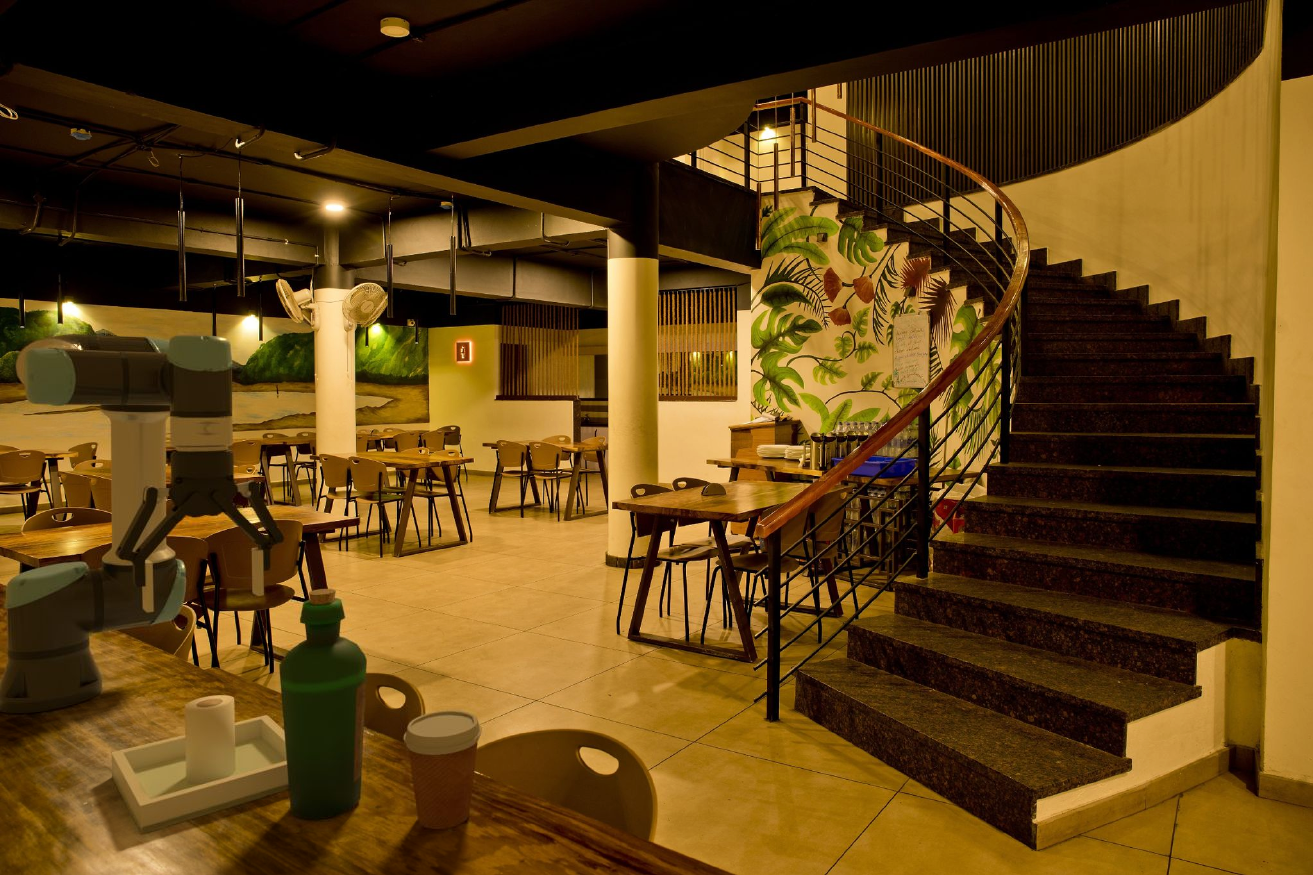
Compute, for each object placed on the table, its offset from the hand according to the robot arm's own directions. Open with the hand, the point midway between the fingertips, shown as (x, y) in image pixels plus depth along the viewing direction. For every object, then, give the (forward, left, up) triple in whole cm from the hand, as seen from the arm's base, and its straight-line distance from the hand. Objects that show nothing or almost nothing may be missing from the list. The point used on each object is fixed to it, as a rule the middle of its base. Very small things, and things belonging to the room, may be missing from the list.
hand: (205, 602), depth 111 cm
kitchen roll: (+1, 0, -24) cm, 24 cm away
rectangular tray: (+1, 0, -25) cm, 25 cm away
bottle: (+19, +9, -25) cm, 33 cm away
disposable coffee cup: (+32, +19, -25) cm, 45 cm away
